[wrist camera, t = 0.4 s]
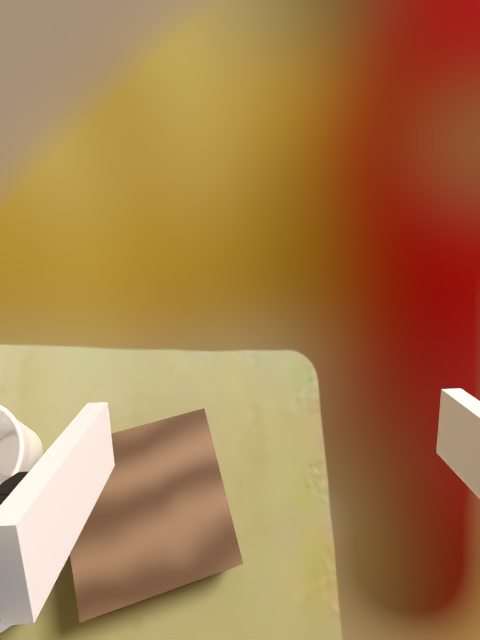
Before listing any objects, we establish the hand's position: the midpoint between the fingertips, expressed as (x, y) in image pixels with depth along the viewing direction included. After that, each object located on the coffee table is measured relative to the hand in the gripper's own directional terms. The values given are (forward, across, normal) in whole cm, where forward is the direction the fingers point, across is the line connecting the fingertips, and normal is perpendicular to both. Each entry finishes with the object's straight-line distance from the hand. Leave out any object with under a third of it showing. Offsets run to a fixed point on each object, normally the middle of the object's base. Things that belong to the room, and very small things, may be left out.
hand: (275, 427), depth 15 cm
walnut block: (+26, +12, +22) cm, 36 cm away
